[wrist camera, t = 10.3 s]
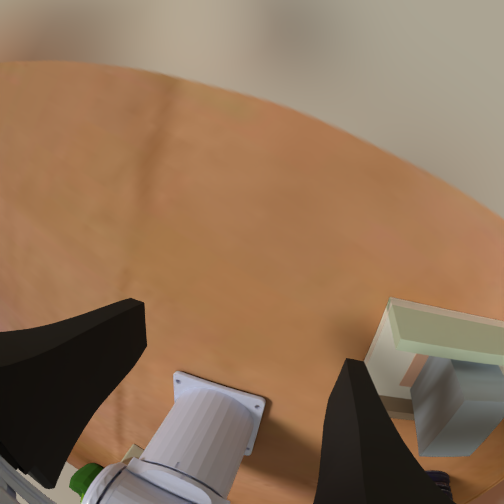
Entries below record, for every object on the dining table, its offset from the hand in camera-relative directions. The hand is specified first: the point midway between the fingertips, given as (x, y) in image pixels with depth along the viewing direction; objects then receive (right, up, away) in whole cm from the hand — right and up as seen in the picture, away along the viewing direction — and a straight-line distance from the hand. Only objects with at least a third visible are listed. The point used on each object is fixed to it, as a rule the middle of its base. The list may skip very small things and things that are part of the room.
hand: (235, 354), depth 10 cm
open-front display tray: (+14, -4, +8) cm, 17 cm away
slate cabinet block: (+14, -4, +7) cm, 16 cm away
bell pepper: (-28, -39, +33) cm, 58 cm away
